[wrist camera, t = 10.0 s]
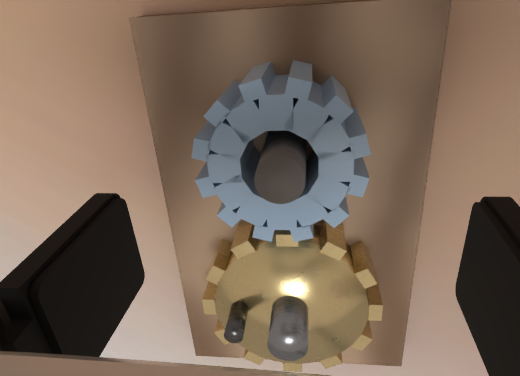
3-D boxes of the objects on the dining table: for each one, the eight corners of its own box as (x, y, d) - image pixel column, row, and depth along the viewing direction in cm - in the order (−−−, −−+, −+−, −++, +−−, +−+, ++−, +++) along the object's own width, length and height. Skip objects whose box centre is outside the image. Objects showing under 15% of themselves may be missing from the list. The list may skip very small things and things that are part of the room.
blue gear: (362, 56, 17) (376, 72, 14) (356, 199, 21) (365, 242, 17) (205, 64, 18) (179, 82, 15) (222, 200, 22) (204, 241, 18)
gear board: (440, -5, 17) (506, -4, 12) (396, 347, 27) (420, 444, 21) (142, 16, 19) (69, 26, 13) (201, 338, 29) (174, 425, 23)
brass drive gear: (381, 209, 21) (400, 268, 16) (370, 341, 25) (383, 417, 21) (202, 209, 22) (175, 264, 18) (221, 335, 26) (203, 404, 22)
